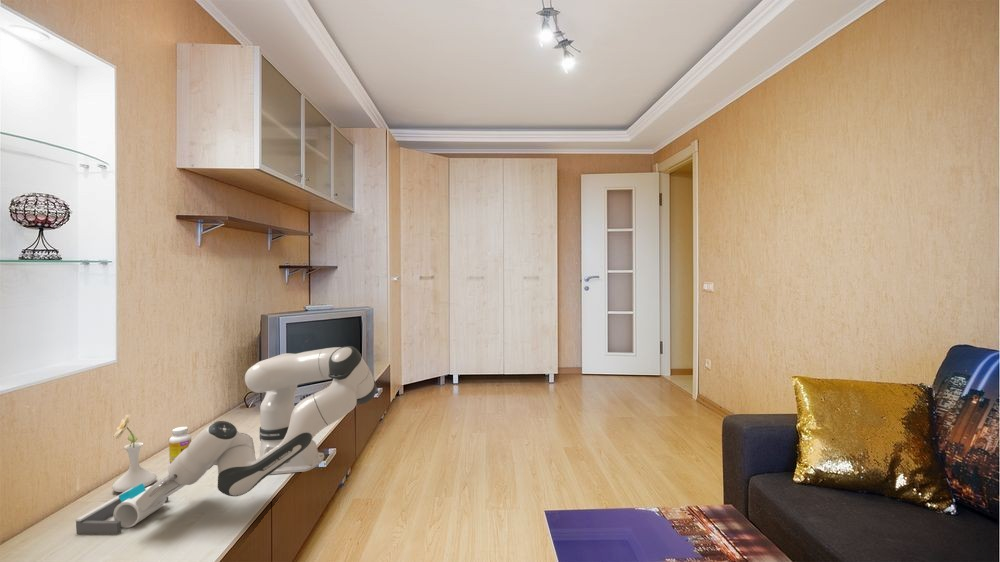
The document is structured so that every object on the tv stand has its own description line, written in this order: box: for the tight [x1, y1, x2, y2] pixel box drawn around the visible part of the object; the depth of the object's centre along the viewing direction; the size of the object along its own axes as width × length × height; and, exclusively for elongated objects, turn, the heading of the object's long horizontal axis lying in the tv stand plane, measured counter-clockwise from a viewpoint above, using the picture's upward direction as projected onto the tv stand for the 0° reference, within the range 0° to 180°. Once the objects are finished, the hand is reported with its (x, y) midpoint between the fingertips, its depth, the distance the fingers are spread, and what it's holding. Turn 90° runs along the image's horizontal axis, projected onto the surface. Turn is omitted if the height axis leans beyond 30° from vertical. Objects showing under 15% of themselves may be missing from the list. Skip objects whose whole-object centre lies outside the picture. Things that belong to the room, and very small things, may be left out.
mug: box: [110, 483, 166, 529], centre depth 128 cm, size 12×9×12 cm
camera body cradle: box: [75, 488, 169, 535], centre depth 128 cm, size 12×17×4 cm, turn 177°
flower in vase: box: [111, 413, 158, 493], centre depth 145 cm, size 13×11×25 cm
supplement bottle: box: [168, 426, 192, 465], centre depth 163 cm, size 7×7×13 cm
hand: (156, 501), depth 127 cm, fingers closed
